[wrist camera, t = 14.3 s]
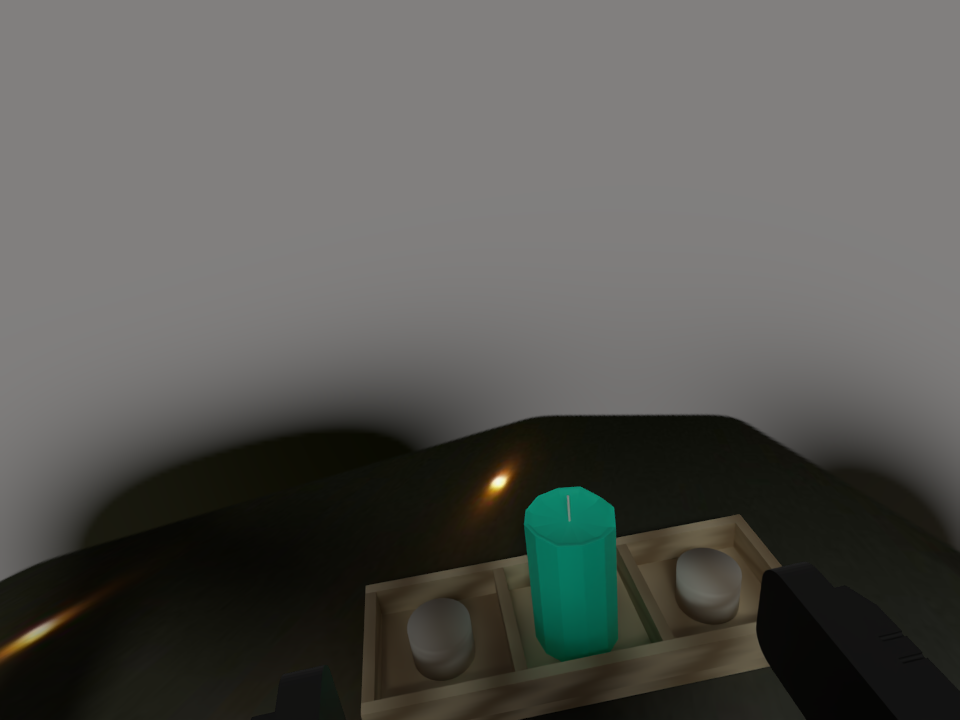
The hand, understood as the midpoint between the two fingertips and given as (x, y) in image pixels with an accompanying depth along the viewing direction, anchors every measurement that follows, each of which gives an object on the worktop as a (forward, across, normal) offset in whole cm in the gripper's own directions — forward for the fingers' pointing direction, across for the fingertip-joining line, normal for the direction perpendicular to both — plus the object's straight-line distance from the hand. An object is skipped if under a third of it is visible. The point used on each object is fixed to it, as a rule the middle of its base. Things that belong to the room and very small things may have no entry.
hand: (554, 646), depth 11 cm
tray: (+23, -7, +29) cm, 37 cm away
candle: (+23, -6, +28) cm, 37 cm away
